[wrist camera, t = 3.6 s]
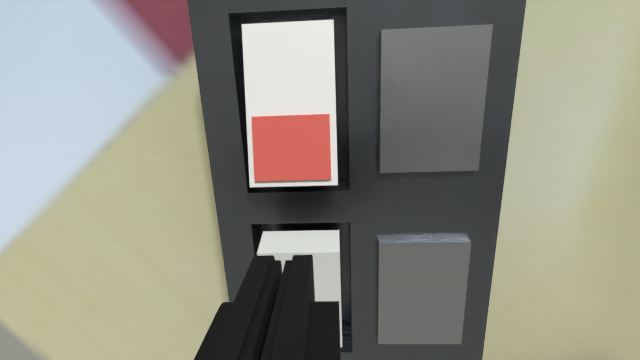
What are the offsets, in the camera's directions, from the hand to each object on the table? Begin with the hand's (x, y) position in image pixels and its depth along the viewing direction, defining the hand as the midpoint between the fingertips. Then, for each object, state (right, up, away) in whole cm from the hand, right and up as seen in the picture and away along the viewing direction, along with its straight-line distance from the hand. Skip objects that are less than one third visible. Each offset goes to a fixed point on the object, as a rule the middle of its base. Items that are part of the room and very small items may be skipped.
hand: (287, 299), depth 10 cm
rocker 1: (0, +6, +1) cm, 6 cm away
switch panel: (+2, 0, +7) cm, 7 cm away
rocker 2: (0, -1, +3) cm, 4 cm away
